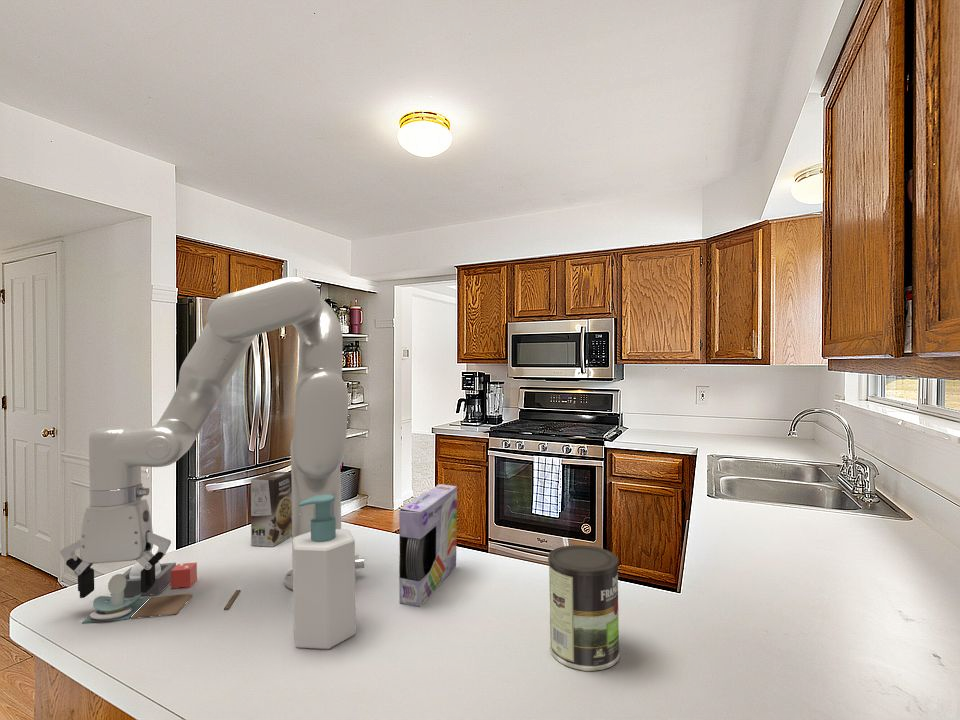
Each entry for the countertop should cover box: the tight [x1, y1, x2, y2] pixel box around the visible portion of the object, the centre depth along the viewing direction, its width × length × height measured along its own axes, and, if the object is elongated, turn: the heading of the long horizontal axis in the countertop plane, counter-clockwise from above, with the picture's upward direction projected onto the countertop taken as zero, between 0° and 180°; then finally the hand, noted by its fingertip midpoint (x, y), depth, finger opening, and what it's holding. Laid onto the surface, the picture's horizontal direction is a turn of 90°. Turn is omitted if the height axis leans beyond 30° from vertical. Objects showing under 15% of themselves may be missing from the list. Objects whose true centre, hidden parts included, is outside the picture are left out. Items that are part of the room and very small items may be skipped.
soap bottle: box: [291, 495, 357, 650], centre depth 82 cm, size 10×9×22 cm
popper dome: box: [129, 561, 161, 579], centre depth 100 cm, size 5×5×5 cm
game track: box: [81, 589, 241, 625], centre depth 92 cm, size 23×8×1 cm, turn 100°
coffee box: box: [250, 471, 292, 548], centre depth 126 cm, size 9×6×16 cm
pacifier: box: [89, 573, 142, 619], centre depth 89 cm, size 7×6×6 cm
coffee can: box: [547, 544, 621, 672], centre depth 76 cm, size 10×10×14 cm
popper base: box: [122, 561, 198, 598], centre depth 101 cm, size 13×8×4 cm, turn 100°
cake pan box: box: [398, 483, 458, 608], centre depth 99 cm, size 19×5×18 cm, turn 161°
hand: (117, 591), depth 91 cm, fingers open, 9 cm apart
